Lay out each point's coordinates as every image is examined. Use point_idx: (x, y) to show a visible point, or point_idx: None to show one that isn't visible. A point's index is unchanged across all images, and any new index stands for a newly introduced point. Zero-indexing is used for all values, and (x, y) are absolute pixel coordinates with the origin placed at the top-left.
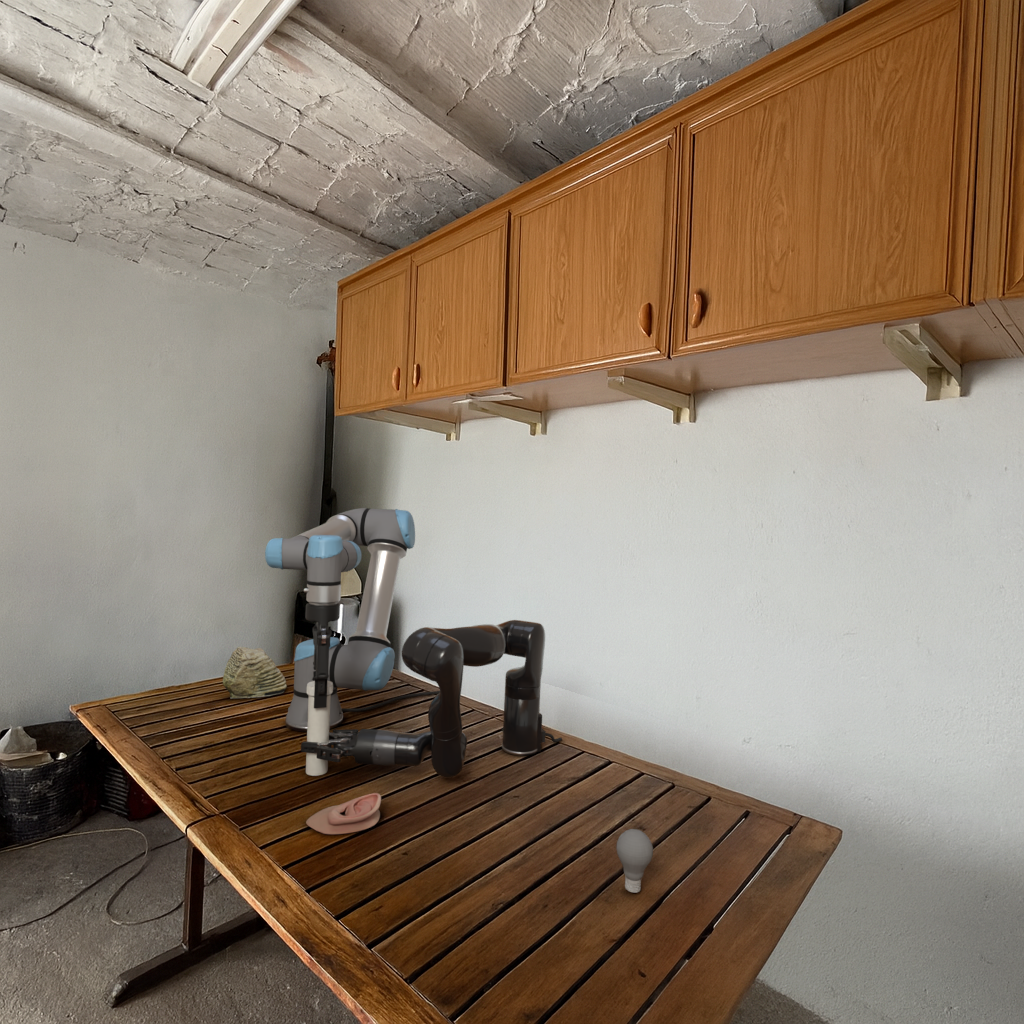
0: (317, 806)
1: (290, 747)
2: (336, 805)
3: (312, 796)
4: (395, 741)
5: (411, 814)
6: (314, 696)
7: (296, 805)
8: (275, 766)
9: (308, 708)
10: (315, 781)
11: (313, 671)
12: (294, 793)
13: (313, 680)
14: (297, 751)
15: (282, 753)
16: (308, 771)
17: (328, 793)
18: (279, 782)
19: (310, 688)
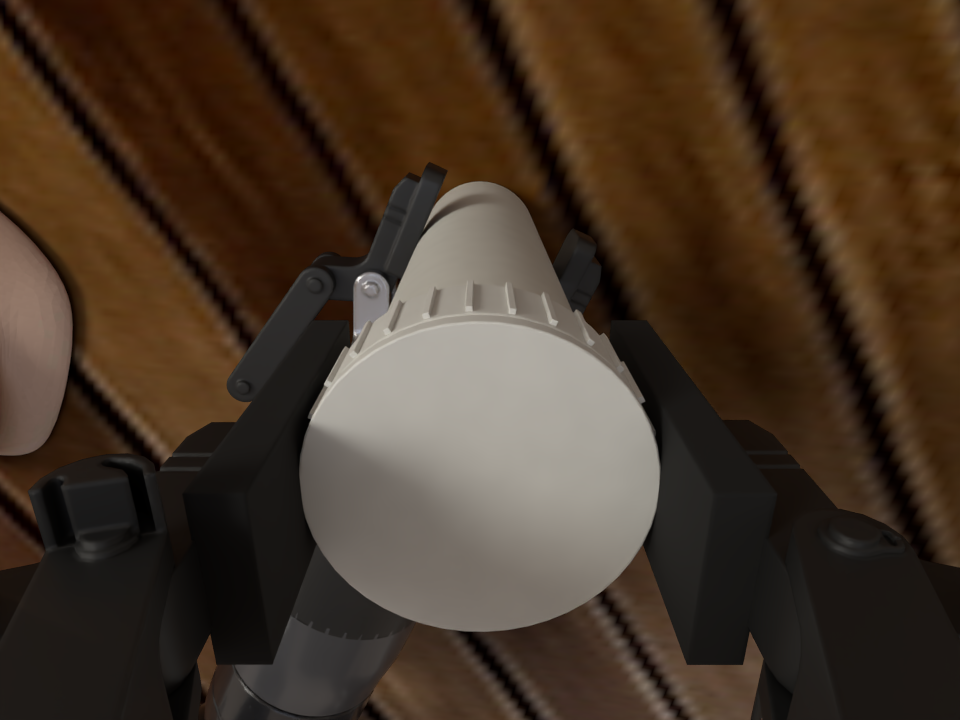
0: (97, 220)
1: (860, 105)
2: (37, 303)
3: (200, 203)
4: (238, 674)
5: (19, 548)
6: (278, 370)
7: (112, 123)
8: (608, 11)
9: (455, 263)
10: (363, 225)
11: (771, 489)
12: (243, 116)
13: (669, 419)
14: (782, 145)
15: (787, 55)
16: (444, 196)
17: (224, 276)
18: (386, 36)
19: (360, 354)
